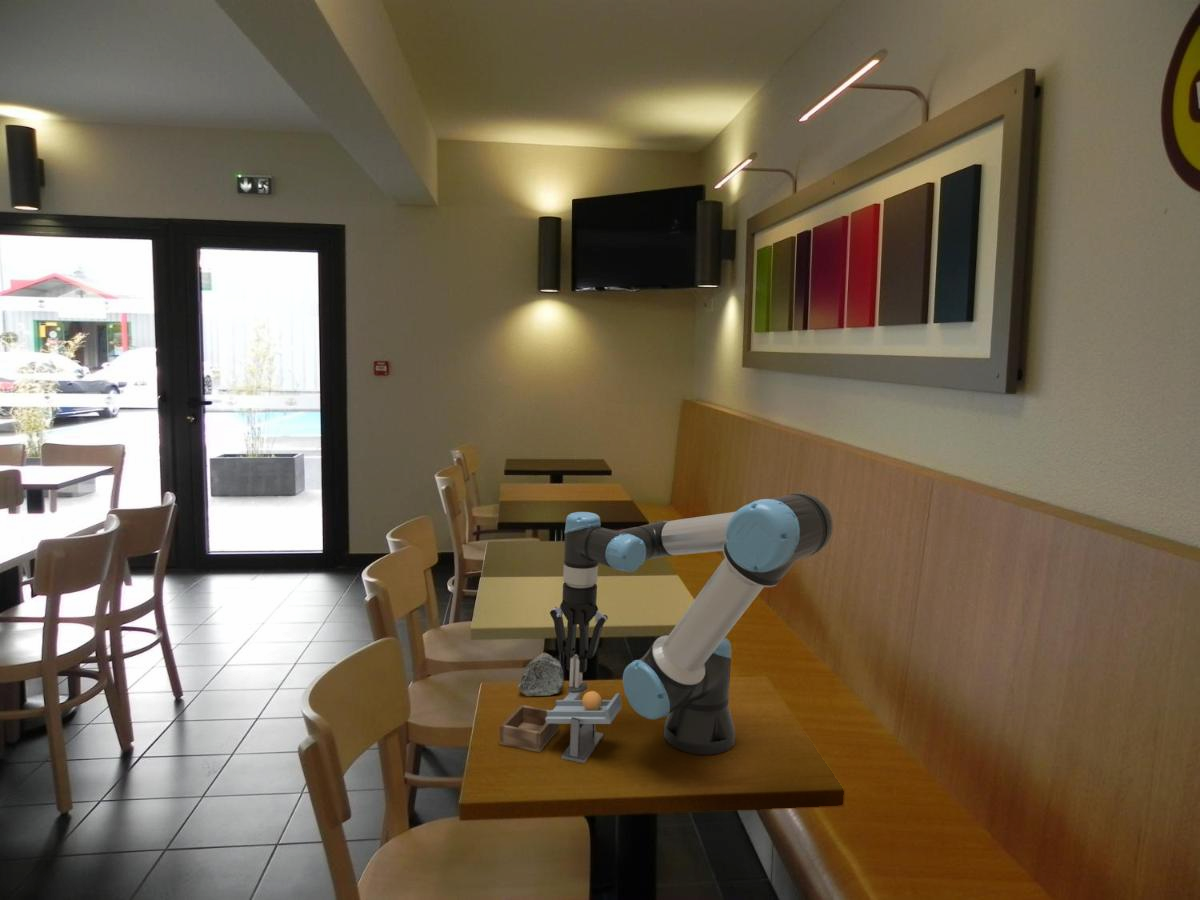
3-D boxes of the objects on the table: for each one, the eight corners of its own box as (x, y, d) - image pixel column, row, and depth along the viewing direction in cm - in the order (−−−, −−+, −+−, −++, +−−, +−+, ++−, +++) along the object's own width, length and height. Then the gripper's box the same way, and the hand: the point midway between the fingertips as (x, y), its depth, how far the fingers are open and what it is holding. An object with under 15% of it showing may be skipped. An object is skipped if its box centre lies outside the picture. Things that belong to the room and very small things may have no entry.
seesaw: (634, 688, 173) (632, 675, 173) (609, 725, 156) (607, 710, 156) (572, 688, 178) (570, 676, 177) (541, 724, 161) (539, 710, 160)
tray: (558, 729, 171) (559, 711, 170) (539, 752, 161) (540, 733, 160) (520, 721, 173) (521, 704, 173) (499, 744, 163) (500, 726, 163)
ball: (607, 698, 162) (594, 684, 163) (601, 706, 159) (588, 692, 159) (595, 710, 164) (582, 695, 164) (589, 718, 160) (575, 703, 160)
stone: (541, 658, 183) (552, 642, 193) (510, 681, 185) (522, 664, 195) (567, 691, 183) (576, 673, 193) (535, 713, 185) (545, 694, 195)
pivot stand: (603, 735, 168) (604, 697, 167) (584, 763, 157) (585, 722, 156) (581, 731, 170) (582, 694, 169) (561, 758, 158) (562, 718, 157)
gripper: (614, 582, 173) (609, 683, 176) (557, 574, 177) (553, 672, 181) (604, 592, 166) (599, 697, 169) (544, 583, 170) (541, 686, 174)
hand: (575, 684), depth 175 cm, fingers closed
